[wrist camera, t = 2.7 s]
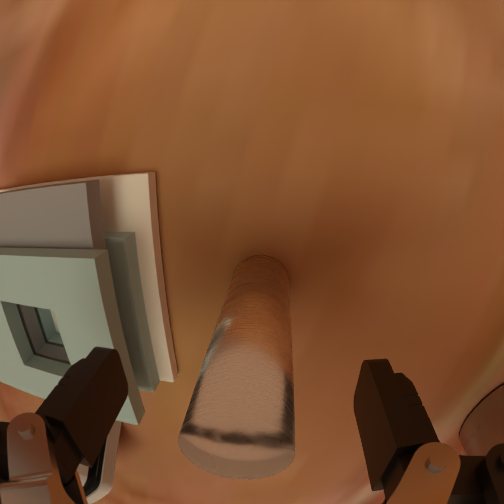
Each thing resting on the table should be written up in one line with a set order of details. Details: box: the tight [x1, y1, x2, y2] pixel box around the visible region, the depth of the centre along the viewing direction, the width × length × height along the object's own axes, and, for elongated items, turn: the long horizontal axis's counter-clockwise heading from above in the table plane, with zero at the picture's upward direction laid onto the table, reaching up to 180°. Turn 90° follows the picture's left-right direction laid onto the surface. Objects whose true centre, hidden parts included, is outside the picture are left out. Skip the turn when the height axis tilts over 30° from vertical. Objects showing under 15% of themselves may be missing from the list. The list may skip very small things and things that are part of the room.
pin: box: [178, 255, 295, 479], centre depth 12 cm, size 3×3×11 cm
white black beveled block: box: [77, 420, 122, 504], centre depth 21 cm, size 17×5×10 cm, turn 129°
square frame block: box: [0, 172, 178, 425], centre depth 16 cm, size 16×13×5 cm
